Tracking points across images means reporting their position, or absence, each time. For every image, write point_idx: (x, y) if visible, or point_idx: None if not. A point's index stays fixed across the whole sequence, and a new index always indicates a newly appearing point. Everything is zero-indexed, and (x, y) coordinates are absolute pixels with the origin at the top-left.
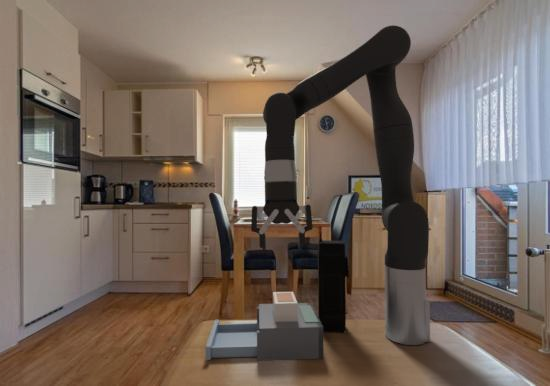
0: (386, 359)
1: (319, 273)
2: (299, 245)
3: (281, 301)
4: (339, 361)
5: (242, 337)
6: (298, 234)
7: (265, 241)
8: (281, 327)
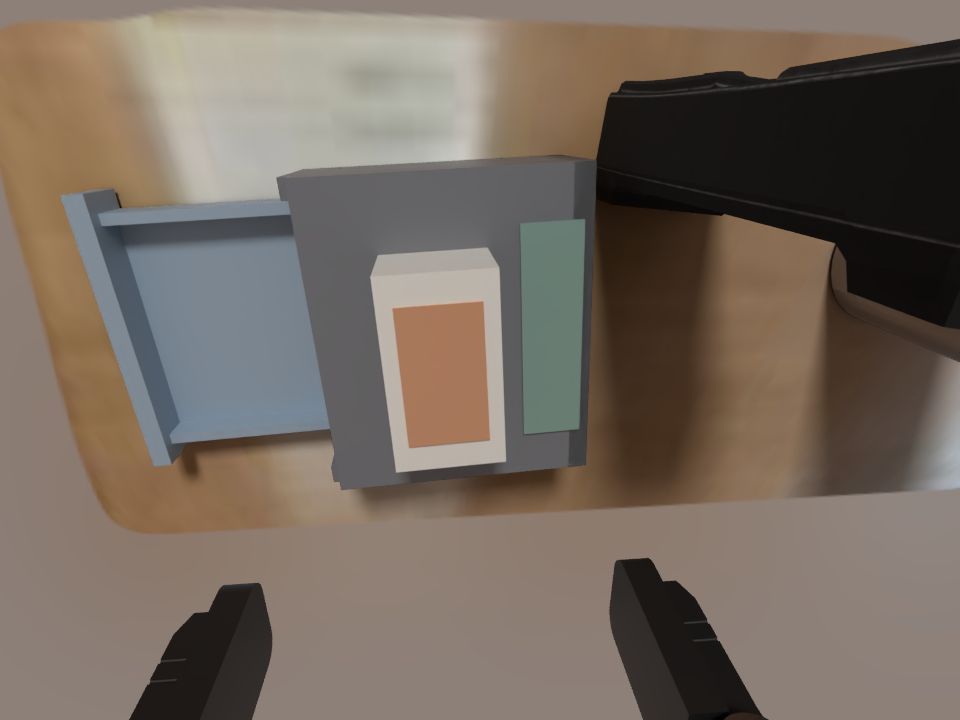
0: (741, 406)
1: (735, 216)
2: (621, 658)
3: (427, 445)
4: (601, 422)
5: (257, 292)
6: (674, 716)
7: (238, 706)
8: (427, 477)
